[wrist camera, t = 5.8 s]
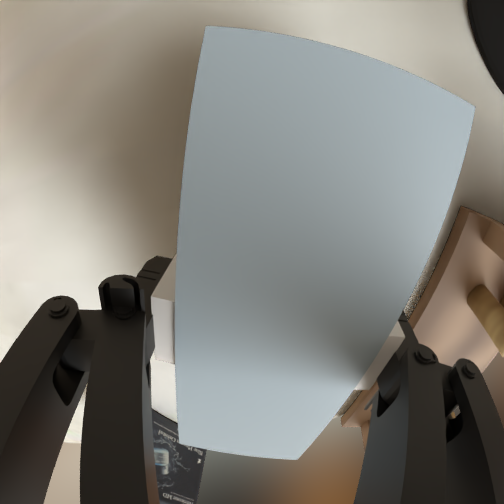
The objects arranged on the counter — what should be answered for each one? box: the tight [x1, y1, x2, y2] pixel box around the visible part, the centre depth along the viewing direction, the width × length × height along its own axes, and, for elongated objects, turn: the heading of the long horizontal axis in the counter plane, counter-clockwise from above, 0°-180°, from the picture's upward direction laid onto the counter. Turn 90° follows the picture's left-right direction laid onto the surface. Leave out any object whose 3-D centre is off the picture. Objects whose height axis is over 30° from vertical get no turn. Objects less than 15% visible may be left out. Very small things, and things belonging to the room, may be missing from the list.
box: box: [152, 410, 207, 504], centre depth 22 cm, size 9×6×10 cm, turn 44°
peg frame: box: [341, 206, 504, 450], centre depth 13 cm, size 12×21×12 cm, turn 170°
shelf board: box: [175, 26, 475, 460], centre depth 9 cm, size 6×16×3 cm, turn 170°
